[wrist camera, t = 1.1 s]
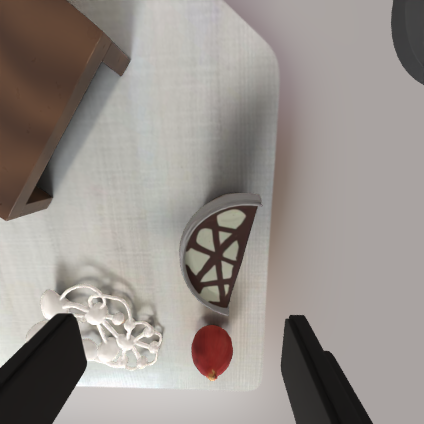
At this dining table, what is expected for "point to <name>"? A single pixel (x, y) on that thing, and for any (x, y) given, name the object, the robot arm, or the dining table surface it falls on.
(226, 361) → the onion
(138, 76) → the dining table surface
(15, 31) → the shelf
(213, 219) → the food container
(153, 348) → the tangled rod sculpture
